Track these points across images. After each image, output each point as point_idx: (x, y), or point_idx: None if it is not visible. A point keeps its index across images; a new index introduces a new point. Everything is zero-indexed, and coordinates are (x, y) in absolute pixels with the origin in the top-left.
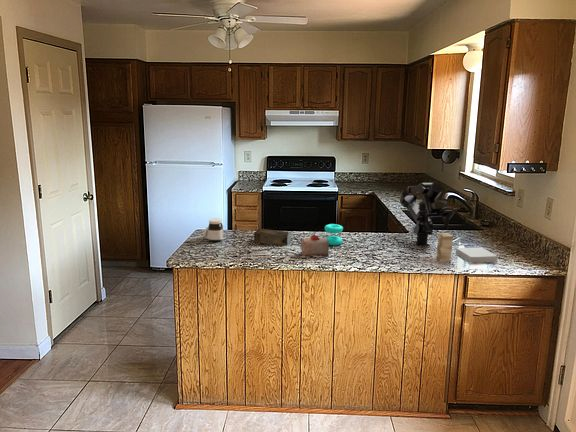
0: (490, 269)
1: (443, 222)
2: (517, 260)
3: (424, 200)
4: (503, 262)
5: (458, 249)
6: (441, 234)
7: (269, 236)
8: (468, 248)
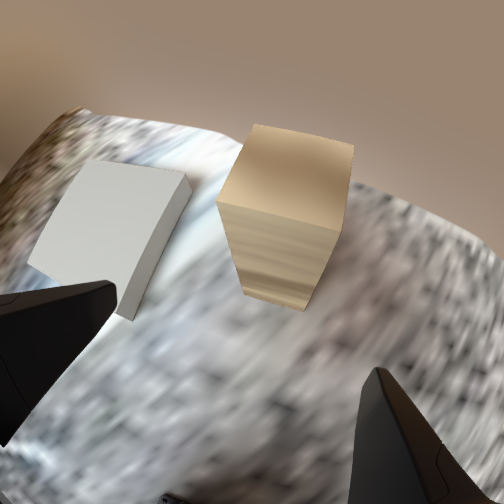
0: (190, 129)
1: (23, 414)
2: (47, 173)
3: None
4: None
5: (125, 289)
6: (338, 186)
7: None
8: (72, 277)
